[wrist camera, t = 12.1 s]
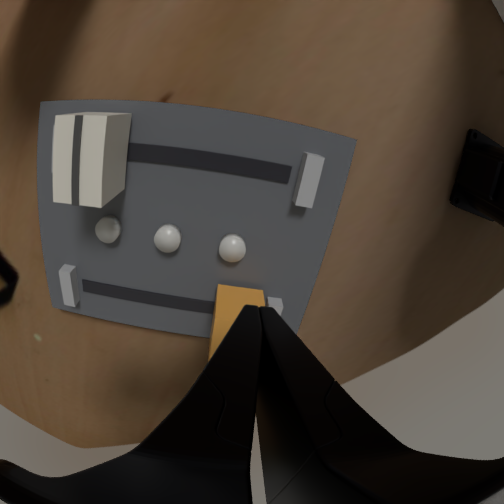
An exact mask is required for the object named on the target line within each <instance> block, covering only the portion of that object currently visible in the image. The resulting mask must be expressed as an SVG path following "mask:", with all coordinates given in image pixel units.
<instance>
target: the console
mask: <svg viewBox="0 0 504 504" xmlns="http://www.w3.org/2000/svg"><path fill="white" fill-rule="evenodd" d="M81 112H111V113H132V116H131V124H130V132H129V141H128V150H127V161H126V174H125V189H124V190H123V191H121V192H120V193H119V194H118V195H116V196H115V197H114V198H113V199H112V200H110V201H109V202H108V203H107V204H105V205H104V206H103V207H102V208H98V207H90V206H82V205H79V206H73V205H72V204H66V203H58V202H53V143H54V127H55V115H63V114H72V113H81ZM356 141H357V140H356V139H352V138H349V137H346V136H342V135H339V134H335V133H332V132H328V131H324V130H320V129H316V128H312V127H308V126H304V125H300V124H296V123H292V122H287V121H283V120H278V119H273V118H268V117H263V116H258V115H253V114H247V113H241V112H235V111H229V110H222V109H216V108H208V107H201V106H192V105H183V104H173V103H162V102H148V101H130V100H60V101H43V102H41V104H40V114H39V126H38V145H37V191H38V210H39V222H40V233H41V242H42V250H43V257H44V264H45V270H46V276H47V282H48V287H49V292H50V297H51V302H52V306H53V307H54V308H58V309H62V310H66V311H70V312H74V313H78V314H82V315H87V316H91V317H95V318H100V319H104V320H109V321H114V322H118V323H123V324H128V325H133V326H139V327H144V328H150V329H155V330H161V331H167V332H173V333H179V334H186V335H192V336H199V337H206V338H210V333H211V326H212V319H213V312H214V306H215V299H216V293H217V287H218V284H221V285H228V286H236V287H243V288H250V289H258V290H263V294H264V301H265V306H267V307H273V308H274V309H275V310H276V311H277V312H278V314H279V315H280V316H281V317H282V318H283V320H284V321H285V322H286V323H287V324H288V325H289V327H290V328H291V329H292V330H293V331H294V332H295V334H297V332H298V329H299V326H300V323H301V321H302V318H303V315H304V312H305V310H306V307H307V304H308V301H309V298H310V296H311V293H312V290H313V287H314V284H315V281H316V278H317V275H318V272H319V269H320V266H321V263H322V260H323V257H324V254H325V251H326V247H327V244H328V241H329V238H330V235H331V231H332V228H333V225H334V222H335V218H336V215H337V212H338V208H339V205H340V201H341V198H342V194H343V191H344V187H345V183H346V180H347V176H348V172H349V169H350V165H351V161H352V157H353V153H354V149H355V145H356Z"/></svg>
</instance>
